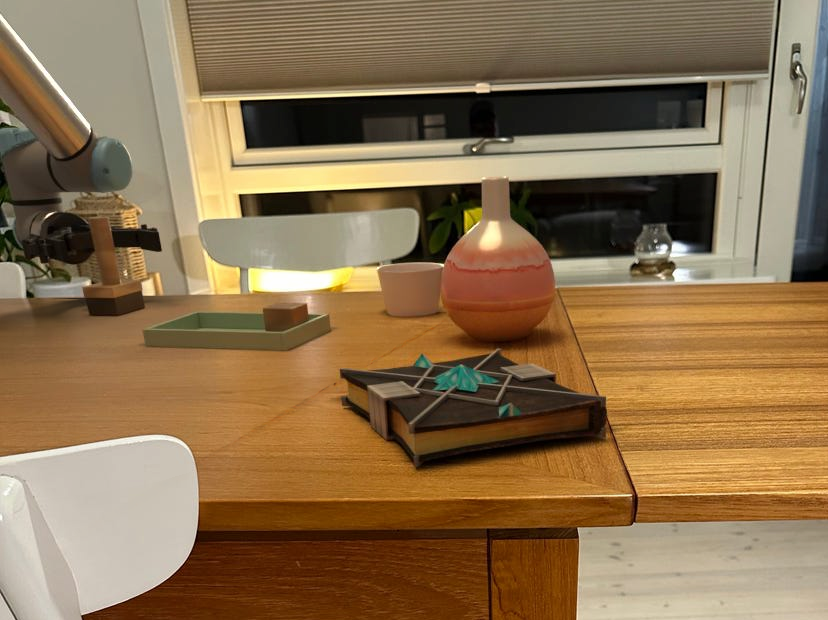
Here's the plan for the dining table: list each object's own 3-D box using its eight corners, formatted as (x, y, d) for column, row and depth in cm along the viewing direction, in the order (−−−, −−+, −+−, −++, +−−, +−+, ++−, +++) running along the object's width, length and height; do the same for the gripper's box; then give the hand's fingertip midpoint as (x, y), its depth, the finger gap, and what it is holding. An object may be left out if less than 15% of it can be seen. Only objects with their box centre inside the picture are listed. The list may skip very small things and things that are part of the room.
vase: (577, 339, 114) (579, 175, 105) (477, 354, 108) (471, 183, 100) (517, 322, 124) (515, 172, 116) (424, 336, 119) (414, 179, 110)
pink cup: (393, 324, 126) (389, 274, 123) (371, 314, 134) (367, 266, 131) (455, 317, 129) (453, 267, 126) (431, 307, 137) (428, 260, 134)
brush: (88, 315, 141) (66, 220, 135) (117, 306, 147) (98, 215, 141) (118, 316, 140) (98, 219, 134) (146, 307, 146) (128, 214, 140)
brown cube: (266, 342, 116) (262, 308, 114) (281, 336, 119) (277, 302, 117) (296, 343, 115) (292, 308, 113) (311, 336, 118) (307, 302, 116)
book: (608, 439, 78) (609, 378, 76) (413, 471, 73) (409, 406, 70) (502, 383, 96) (501, 332, 94) (339, 406, 91) (334, 352, 88)
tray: (146, 351, 117) (142, 329, 115) (199, 331, 127) (196, 311, 126) (287, 355, 111) (284, 332, 110) (331, 334, 122) (329, 313, 120)
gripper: (144, 254, 160) (198, 264, 145) (-13, 271, 146) (29, 284, 132) (135, 205, 156) (189, 210, 142) (-27, 218, 143) (15, 225, 128)
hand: (112, 246), depth 137 cm, fingers open, 13 cm apart
